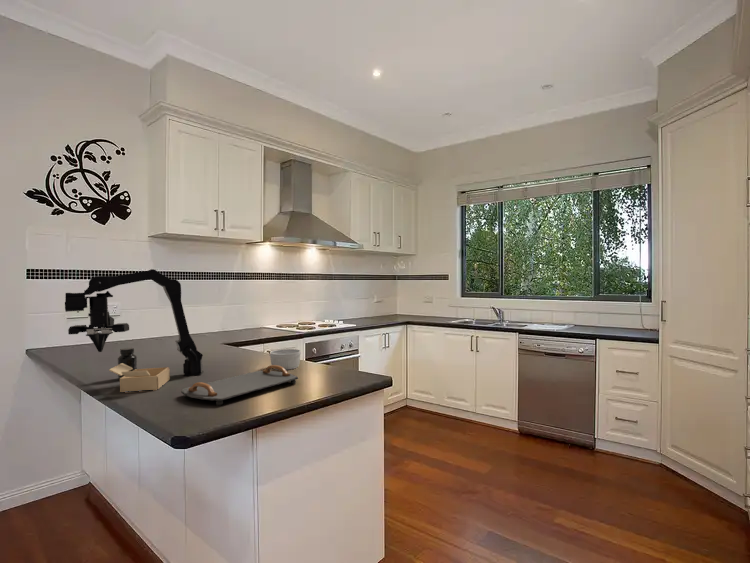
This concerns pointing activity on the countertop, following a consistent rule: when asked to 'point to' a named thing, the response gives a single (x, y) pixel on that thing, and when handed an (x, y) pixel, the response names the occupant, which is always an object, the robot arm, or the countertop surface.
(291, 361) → the ramekin
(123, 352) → the supplement bottle
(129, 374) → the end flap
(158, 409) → the countertop surface
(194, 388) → the serving board
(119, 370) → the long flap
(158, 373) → the carton
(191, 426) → the countertop surface
